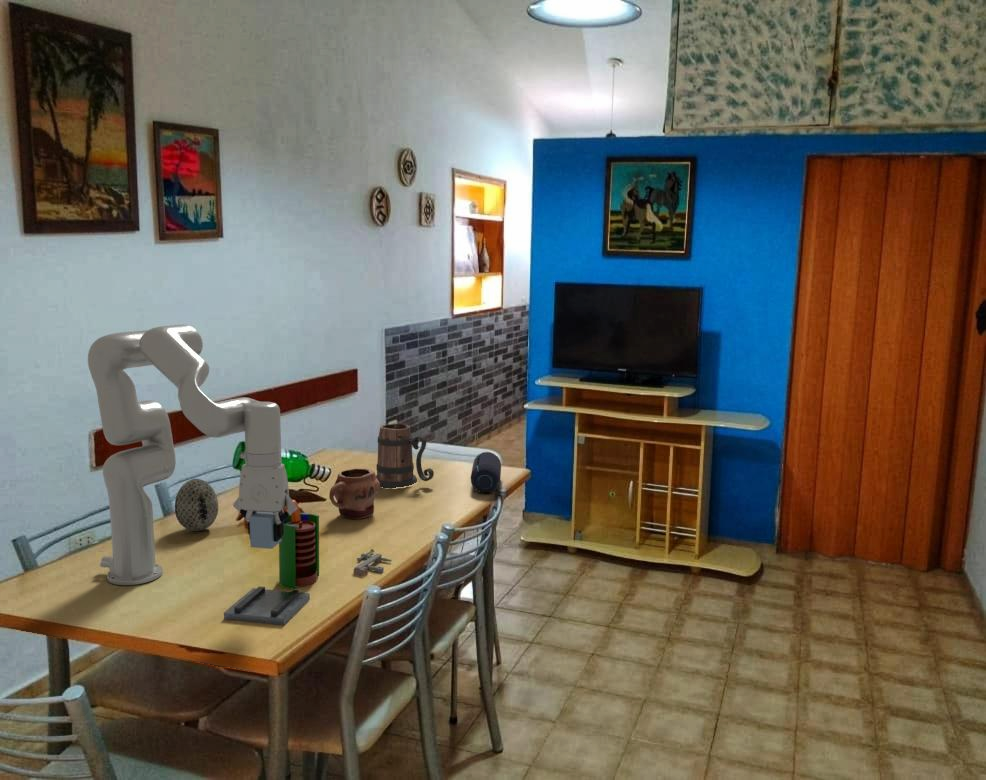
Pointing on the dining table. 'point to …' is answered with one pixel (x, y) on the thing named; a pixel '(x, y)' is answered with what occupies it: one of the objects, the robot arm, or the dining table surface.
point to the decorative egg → (196, 505)
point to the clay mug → (355, 493)
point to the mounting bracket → (267, 606)
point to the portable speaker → (486, 472)
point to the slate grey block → (262, 530)
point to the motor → (299, 550)
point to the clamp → (364, 566)
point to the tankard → (399, 457)
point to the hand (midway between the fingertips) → (266, 537)
